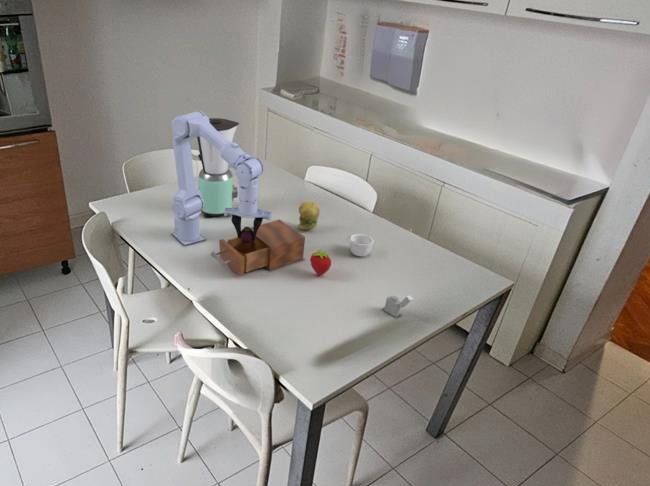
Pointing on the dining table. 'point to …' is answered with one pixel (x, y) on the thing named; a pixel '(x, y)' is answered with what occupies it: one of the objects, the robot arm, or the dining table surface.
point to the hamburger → (308, 215)
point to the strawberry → (320, 262)
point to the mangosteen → (246, 235)
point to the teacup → (360, 244)
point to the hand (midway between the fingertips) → (246, 237)
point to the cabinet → (281, 243)
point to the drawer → (242, 255)
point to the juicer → (216, 171)
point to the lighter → (396, 304)
